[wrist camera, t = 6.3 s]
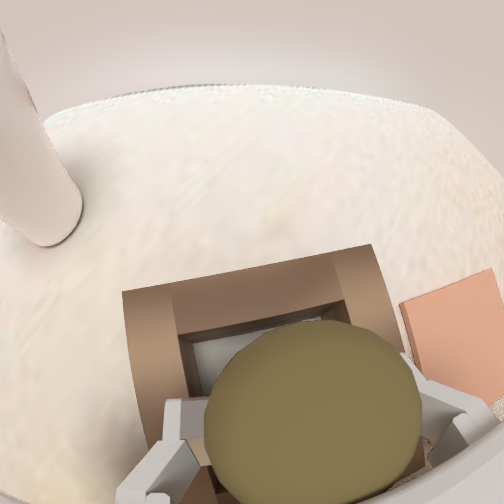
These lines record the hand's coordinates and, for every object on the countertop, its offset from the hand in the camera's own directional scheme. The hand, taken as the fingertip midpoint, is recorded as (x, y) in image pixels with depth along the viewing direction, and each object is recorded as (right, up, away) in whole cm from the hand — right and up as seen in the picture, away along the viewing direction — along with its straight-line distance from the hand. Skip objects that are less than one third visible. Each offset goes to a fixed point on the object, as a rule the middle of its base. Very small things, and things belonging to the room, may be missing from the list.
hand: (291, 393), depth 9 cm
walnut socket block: (0, -3, +6) cm, 7 cm away
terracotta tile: (+14, -2, +7) cm, 16 cm away
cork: (0, -3, +6) cm, 7 cm away
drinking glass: (-16, +7, +10) cm, 20 cm away
